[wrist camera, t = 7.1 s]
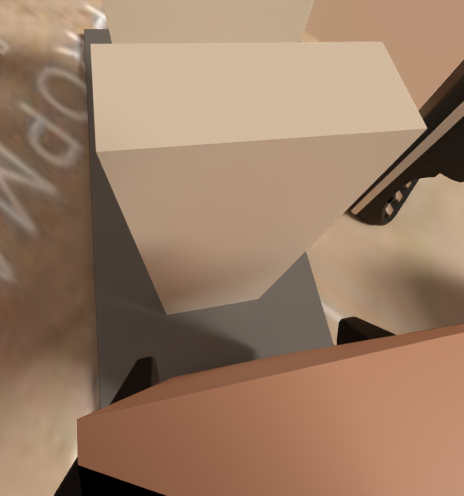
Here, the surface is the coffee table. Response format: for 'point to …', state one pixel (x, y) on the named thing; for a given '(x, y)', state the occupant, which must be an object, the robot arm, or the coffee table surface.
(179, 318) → the domino mat
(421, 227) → the coffee table surface
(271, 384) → the terracotta domino
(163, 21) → the ivory domino
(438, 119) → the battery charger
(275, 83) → the ivory domino
